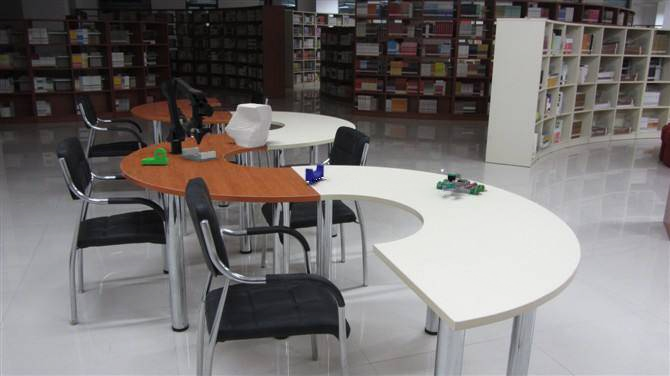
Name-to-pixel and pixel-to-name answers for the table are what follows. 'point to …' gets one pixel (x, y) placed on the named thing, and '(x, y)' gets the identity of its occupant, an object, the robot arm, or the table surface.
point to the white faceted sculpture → (250, 125)
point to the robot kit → (459, 185)
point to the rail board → (198, 154)
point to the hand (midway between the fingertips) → (198, 144)
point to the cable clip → (314, 173)
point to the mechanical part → (157, 158)
